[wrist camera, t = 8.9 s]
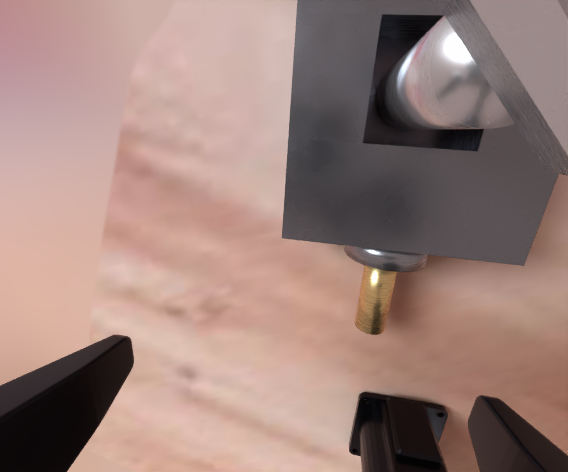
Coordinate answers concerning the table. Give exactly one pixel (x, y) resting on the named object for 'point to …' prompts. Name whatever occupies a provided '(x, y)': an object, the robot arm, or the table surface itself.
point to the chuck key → (488, 74)
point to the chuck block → (395, 159)
